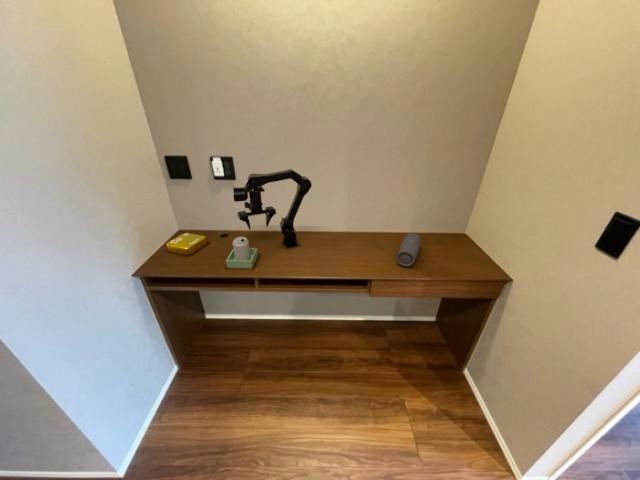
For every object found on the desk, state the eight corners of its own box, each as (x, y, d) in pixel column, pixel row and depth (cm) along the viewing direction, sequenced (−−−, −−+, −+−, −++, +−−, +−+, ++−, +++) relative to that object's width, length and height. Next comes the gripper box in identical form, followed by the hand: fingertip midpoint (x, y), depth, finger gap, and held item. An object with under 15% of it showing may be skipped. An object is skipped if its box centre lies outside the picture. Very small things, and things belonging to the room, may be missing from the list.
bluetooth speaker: (402, 245, 149) (405, 230, 144) (419, 249, 145) (423, 233, 140) (393, 265, 130) (397, 248, 126) (413, 270, 127) (417, 253, 122)
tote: (257, 255, 138) (257, 248, 136) (252, 268, 127) (251, 261, 125) (234, 254, 138) (233, 248, 136) (227, 267, 127) (225, 260, 125)
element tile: (188, 256, 136) (186, 248, 133) (166, 251, 140) (163, 243, 138) (208, 243, 148) (206, 235, 146) (187, 238, 152) (185, 231, 150)
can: (251, 263, 130) (248, 241, 124) (235, 265, 128) (232, 243, 122) (250, 255, 136) (247, 234, 131) (235, 257, 134) (232, 236, 129)
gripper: (268, 192, 142) (270, 219, 149) (233, 197, 133) (237, 225, 141) (275, 199, 133) (277, 227, 140) (238, 204, 125) (242, 234, 132)
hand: (258, 228), depth 139 cm, fingers open, 9 cm apart
